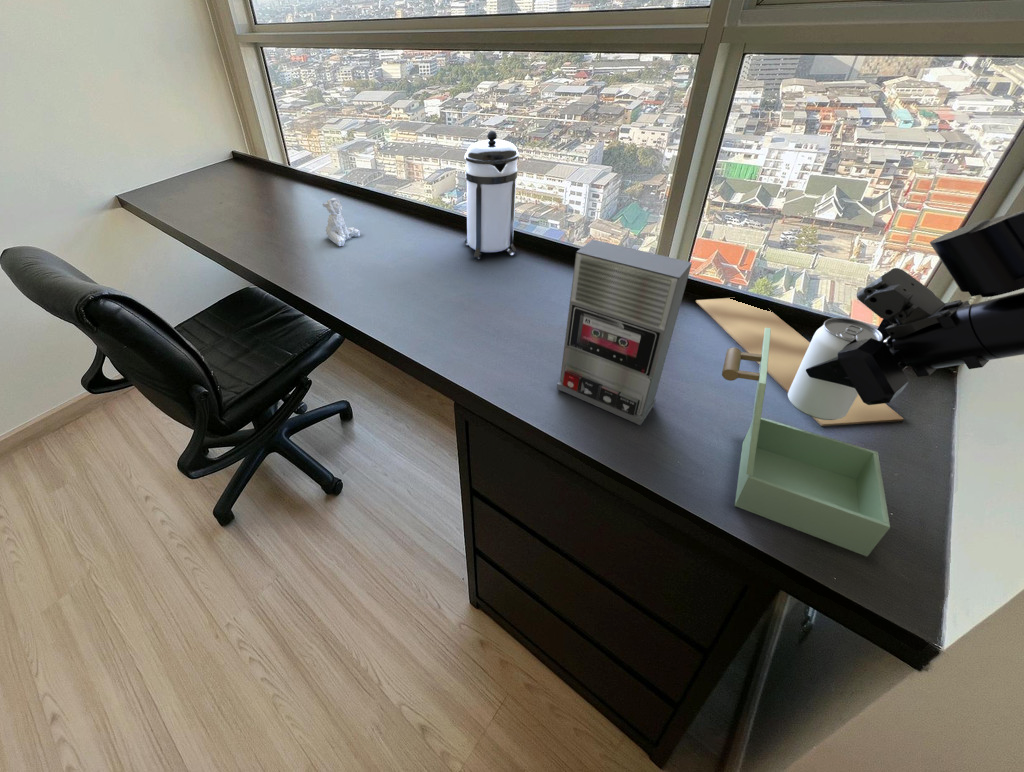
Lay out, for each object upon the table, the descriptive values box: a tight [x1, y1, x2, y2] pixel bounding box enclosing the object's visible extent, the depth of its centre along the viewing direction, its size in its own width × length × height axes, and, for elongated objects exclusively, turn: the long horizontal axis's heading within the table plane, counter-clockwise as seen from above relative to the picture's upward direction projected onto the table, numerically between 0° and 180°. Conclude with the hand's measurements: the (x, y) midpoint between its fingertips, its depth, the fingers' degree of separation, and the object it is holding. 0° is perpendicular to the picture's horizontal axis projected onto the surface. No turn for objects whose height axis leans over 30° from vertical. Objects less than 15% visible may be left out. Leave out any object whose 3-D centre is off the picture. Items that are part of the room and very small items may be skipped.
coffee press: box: [464, 130, 520, 261], centre depth 121 cm, size 17×16×30 cm
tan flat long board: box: [695, 297, 905, 427], centre depth 85 cm, size 36×12×1 cm, turn 2°
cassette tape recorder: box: [556, 239, 693, 426], centre depth 71 cm, size 14×6×25 cm, turn 49°
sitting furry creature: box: [322, 197, 361, 247], centre depth 136 cm, size 10×9×12 cm
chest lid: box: [721, 328, 771, 476], centre depth 59 cm, size 14×12×4 cm
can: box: [787, 317, 883, 420], centre depth 61 cm, size 6×6×12 cm
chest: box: [734, 416, 891, 557], centre depth 60 cm, size 13×12×6 cm
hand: (820, 363), depth 62 cm, fingers closed on can, 6 cm apart
